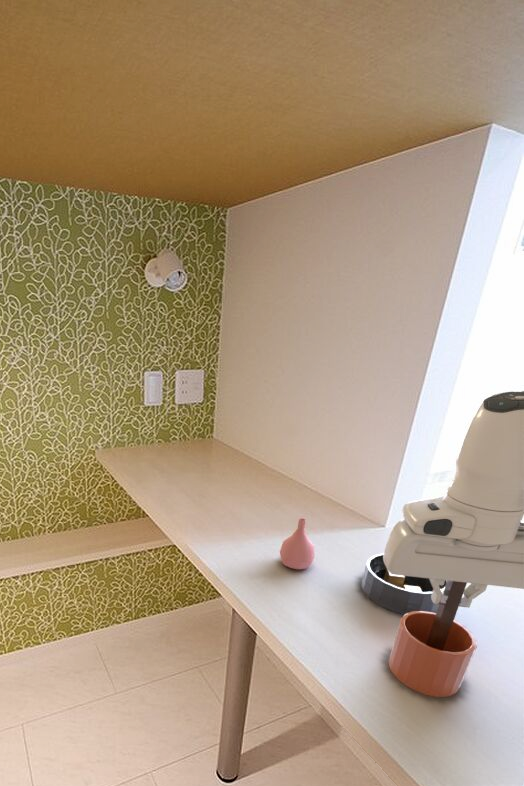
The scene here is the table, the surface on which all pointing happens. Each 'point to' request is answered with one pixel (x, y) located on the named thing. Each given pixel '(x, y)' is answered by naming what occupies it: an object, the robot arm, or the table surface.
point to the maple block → (394, 579)
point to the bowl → (397, 589)
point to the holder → (430, 656)
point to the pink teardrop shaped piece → (297, 549)
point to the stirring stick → (446, 615)
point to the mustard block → (412, 588)
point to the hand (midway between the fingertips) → (449, 603)
